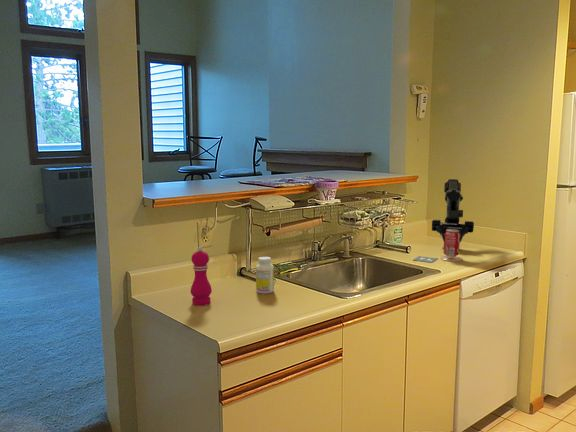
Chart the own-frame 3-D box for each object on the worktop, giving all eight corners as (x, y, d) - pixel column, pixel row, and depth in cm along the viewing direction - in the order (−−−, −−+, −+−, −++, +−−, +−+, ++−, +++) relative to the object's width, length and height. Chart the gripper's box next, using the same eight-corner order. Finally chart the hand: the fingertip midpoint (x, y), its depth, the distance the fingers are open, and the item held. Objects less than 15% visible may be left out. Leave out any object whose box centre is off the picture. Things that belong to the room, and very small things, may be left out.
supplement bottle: (265, 287, 209) (265, 255, 207) (277, 291, 204) (277, 257, 202) (252, 291, 204) (252, 257, 202) (264, 295, 200) (264, 260, 198)
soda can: (454, 253, 258) (456, 228, 256) (461, 257, 251) (463, 231, 249) (440, 253, 257) (442, 228, 255) (447, 257, 250) (449, 231, 248)
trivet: (443, 255, 261) (443, 255, 261) (465, 258, 256) (465, 257, 256) (437, 260, 253) (437, 259, 253) (459, 262, 247) (459, 261, 247)
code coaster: (419, 256, 260) (419, 256, 260) (437, 258, 255) (437, 258, 255) (412, 260, 252) (412, 259, 252) (431, 262, 247) (431, 262, 247)
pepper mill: (193, 299, 195) (191, 244, 191) (213, 299, 194) (212, 244, 191) (189, 306, 187) (187, 249, 184) (210, 306, 187) (208, 249, 184)
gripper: (432, 202, 256) (431, 230, 248) (474, 204, 251) (474, 232, 243) (432, 216, 265) (431, 243, 256) (472, 218, 260) (473, 245, 252)
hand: (452, 241), depth 252 cm, fingers closed on soda can, 7 cm apart
